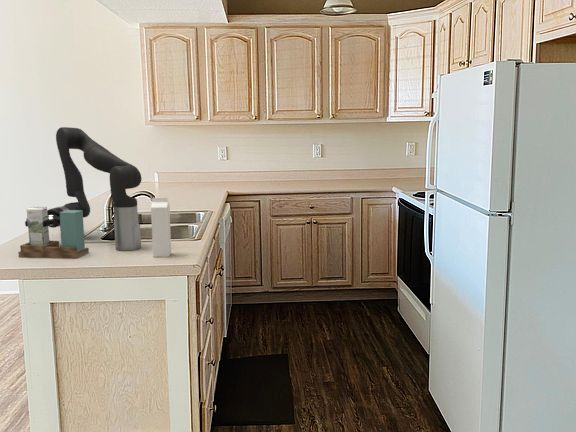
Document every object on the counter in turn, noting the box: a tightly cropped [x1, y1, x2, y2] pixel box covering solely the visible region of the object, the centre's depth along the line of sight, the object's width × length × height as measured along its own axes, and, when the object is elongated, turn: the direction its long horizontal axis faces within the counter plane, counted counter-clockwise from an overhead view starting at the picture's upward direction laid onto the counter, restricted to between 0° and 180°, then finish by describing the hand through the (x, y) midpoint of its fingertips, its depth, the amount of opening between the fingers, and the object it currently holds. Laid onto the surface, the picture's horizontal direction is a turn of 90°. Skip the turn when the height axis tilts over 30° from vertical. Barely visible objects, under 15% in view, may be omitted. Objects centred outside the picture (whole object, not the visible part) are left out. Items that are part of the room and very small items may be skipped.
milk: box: [150, 197, 172, 258], centre depth 218 cm, size 6×6×22 cm
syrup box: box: [26, 206, 51, 245], centre depth 220 cm, size 6×6×14 cm
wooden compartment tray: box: [18, 240, 90, 260], centre depth 220 cm, size 23×10×4 cm, turn 83°
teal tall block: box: [59, 210, 86, 252], centre depth 218 cm, size 7×6×15 cm
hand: (34, 224), depth 217 cm, fingers closed on syrup box, 6 cm apart
